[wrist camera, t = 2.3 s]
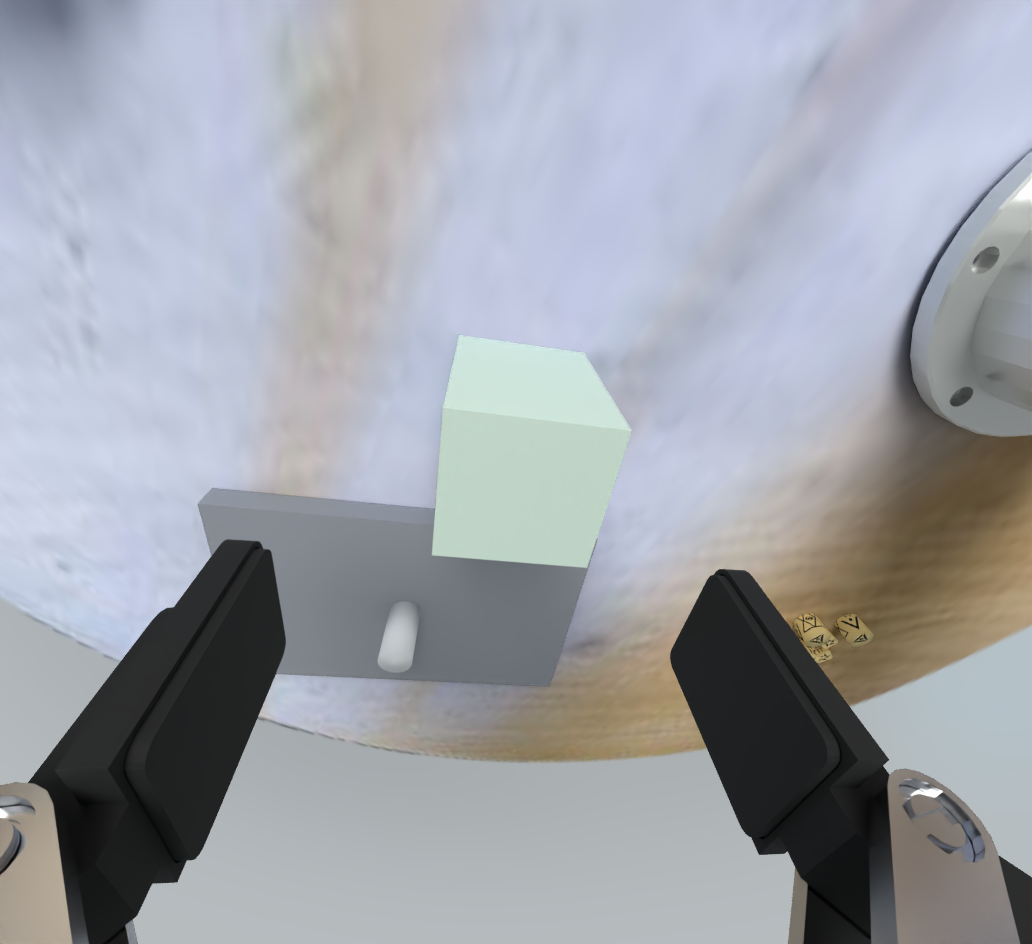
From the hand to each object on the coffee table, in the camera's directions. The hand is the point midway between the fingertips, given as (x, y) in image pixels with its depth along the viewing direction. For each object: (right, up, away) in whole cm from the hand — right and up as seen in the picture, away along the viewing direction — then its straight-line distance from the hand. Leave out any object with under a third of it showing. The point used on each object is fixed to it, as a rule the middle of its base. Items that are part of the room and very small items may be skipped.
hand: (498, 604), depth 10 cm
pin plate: (-6, -4, +15) cm, 16 cm away
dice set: (+19, -7, +19) cm, 28 cm away
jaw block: (0, +6, +9) cm, 11 cm away
